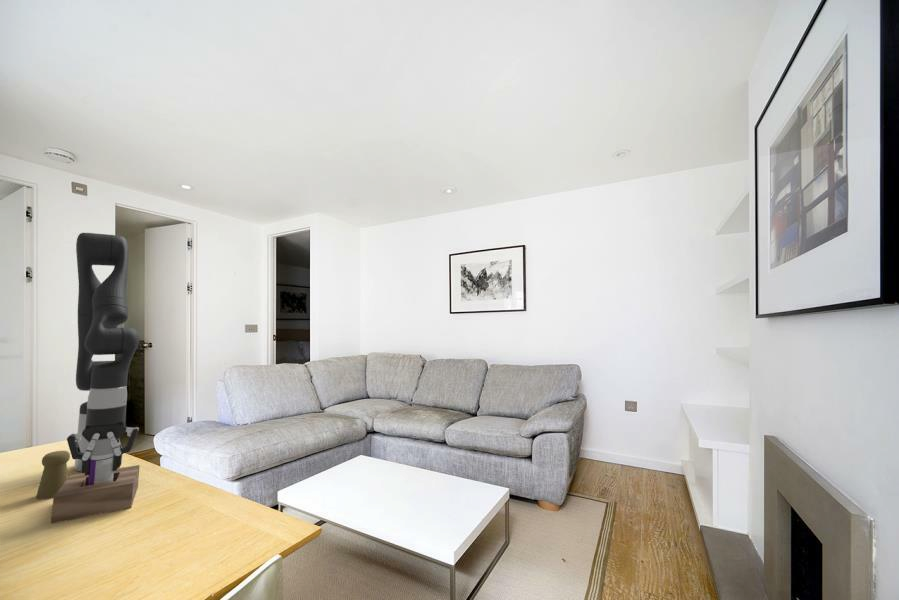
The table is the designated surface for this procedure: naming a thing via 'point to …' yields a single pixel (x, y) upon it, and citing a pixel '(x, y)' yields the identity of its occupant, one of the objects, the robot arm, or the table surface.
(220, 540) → the table surface
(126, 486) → the well block
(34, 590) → the table surface
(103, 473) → the container
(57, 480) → the cork
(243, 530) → the table surface
